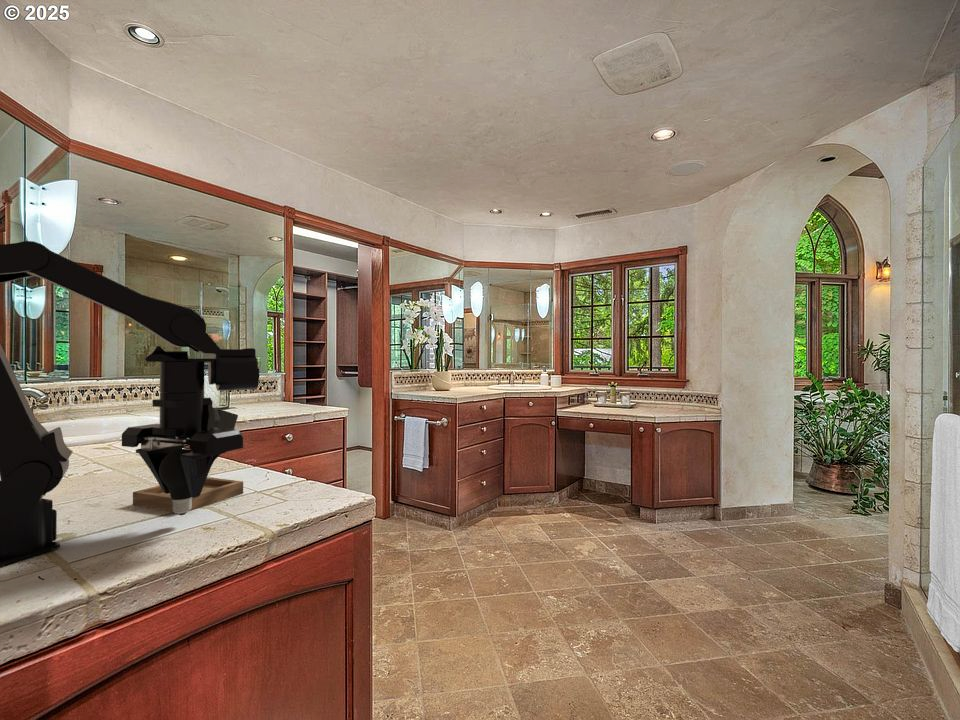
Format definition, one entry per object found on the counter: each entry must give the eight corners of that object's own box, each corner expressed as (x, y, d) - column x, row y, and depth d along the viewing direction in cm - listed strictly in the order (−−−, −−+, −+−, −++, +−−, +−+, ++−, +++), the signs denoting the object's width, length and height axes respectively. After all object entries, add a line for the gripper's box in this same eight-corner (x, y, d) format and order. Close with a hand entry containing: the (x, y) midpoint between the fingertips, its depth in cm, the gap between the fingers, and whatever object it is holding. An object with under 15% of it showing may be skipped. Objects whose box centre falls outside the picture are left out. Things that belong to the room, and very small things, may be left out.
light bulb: (188, 522, 68) (188, 453, 68) (149, 521, 68) (149, 452, 68) (212, 509, 74) (212, 445, 74) (176, 508, 74) (176, 445, 74)
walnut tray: (183, 513, 76) (182, 499, 76) (132, 504, 80) (132, 492, 80) (243, 493, 88) (243, 481, 88) (196, 486, 92) (196, 475, 92)
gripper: (271, 390, 75) (271, 487, 75) (187, 387, 82) (187, 477, 82) (210, 395, 65) (209, 508, 65) (119, 391, 71) (119, 494, 71)
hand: (182, 495), depth 71 cm, fingers closed on light bulb, 5 cm apart
